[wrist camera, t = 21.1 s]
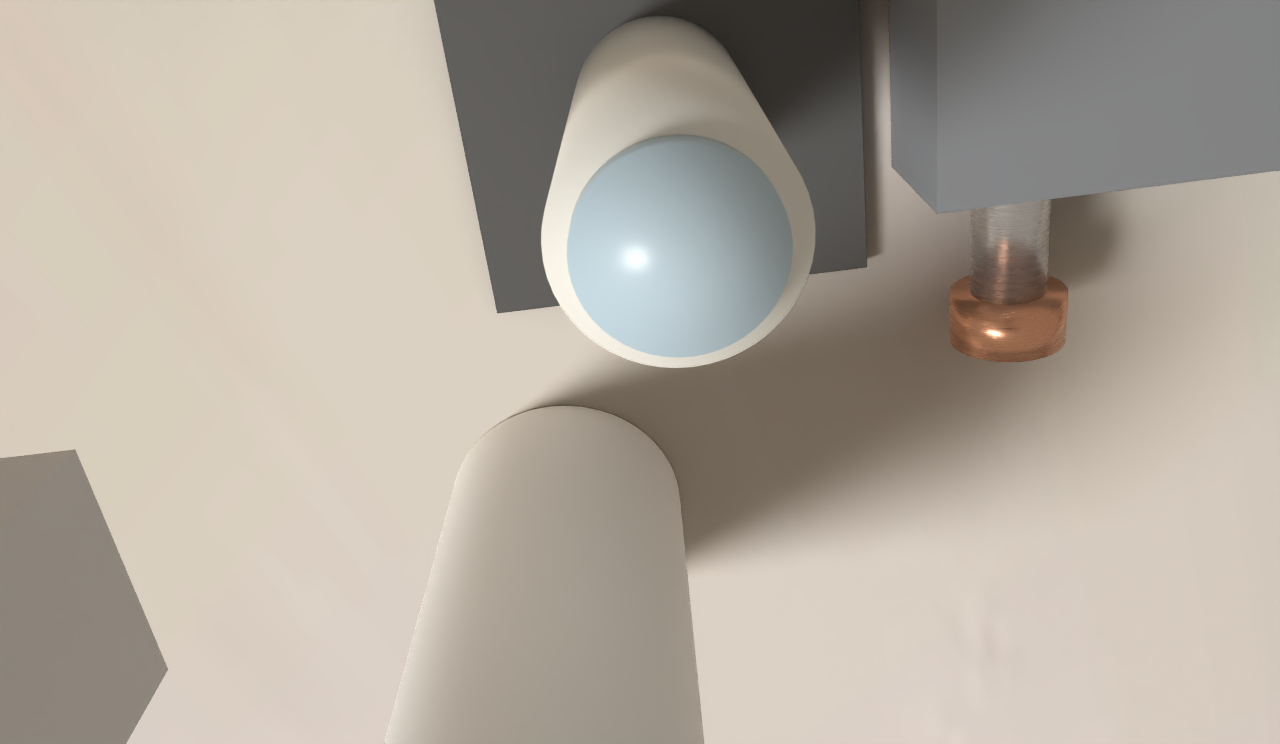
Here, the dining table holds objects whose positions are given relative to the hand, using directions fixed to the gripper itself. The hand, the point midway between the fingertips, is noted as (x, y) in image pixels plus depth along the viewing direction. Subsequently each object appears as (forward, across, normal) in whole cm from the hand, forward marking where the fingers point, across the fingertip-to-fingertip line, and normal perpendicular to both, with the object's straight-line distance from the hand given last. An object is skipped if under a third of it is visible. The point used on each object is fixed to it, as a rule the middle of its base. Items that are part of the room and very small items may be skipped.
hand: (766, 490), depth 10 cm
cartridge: (+22, 0, -1) cm, 22 cm away
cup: (+23, -5, -15) cm, 28 cm away
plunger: (+22, +10, -4) cm, 24 cm away
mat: (+23, 0, -1) cm, 23 cm away
